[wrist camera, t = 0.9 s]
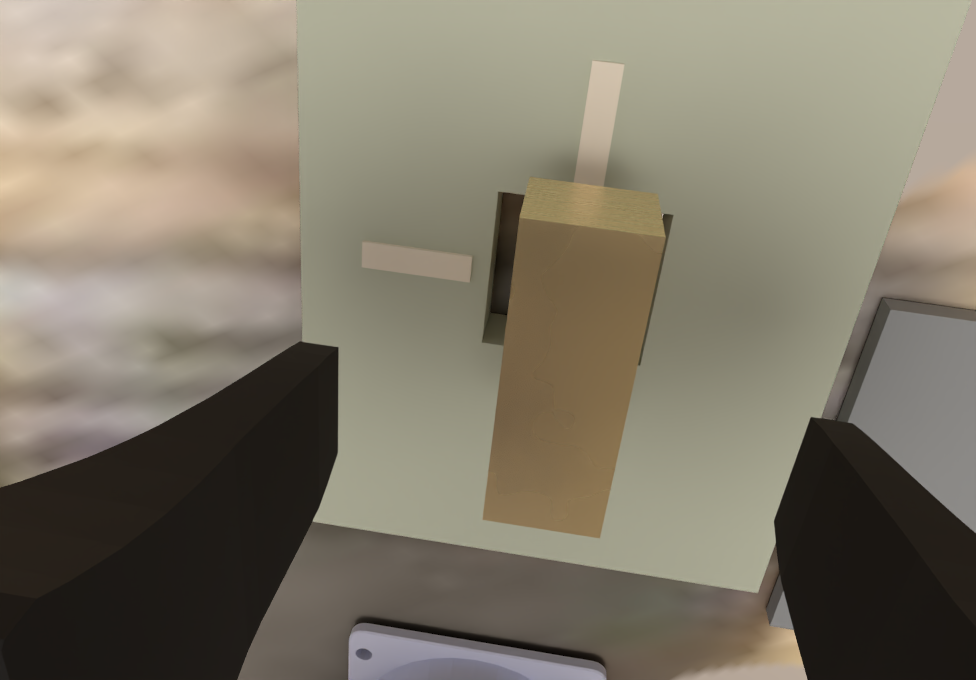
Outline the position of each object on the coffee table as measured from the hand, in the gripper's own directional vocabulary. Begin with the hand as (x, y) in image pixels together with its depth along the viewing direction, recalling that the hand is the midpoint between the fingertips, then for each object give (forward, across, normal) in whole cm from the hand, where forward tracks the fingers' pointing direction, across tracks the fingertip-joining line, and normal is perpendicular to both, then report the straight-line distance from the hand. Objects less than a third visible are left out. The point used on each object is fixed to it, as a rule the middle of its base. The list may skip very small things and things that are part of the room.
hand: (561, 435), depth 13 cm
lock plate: (+7, 0, 0) cm, 7 cm away
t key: (+7, 0, 0) cm, 7 cm away
